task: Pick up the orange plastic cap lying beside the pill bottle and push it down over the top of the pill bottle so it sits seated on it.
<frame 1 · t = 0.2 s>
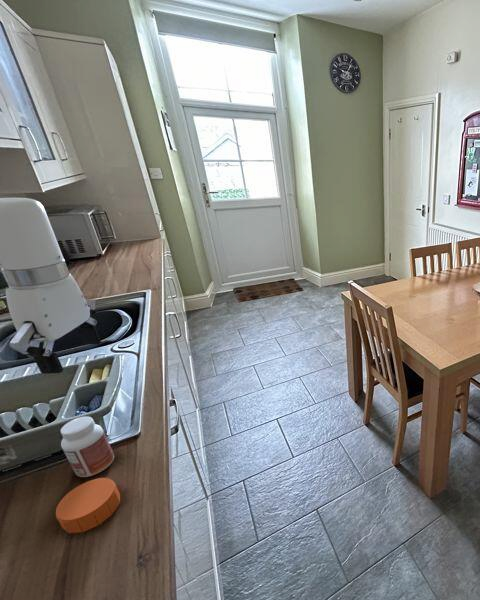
hand: (73, 357, 63), 23 cm above the counter, tool pointing down, fingers open, 9 cm apart
cap: (92, 510, 60), on the counter
pill bottle: (96, 465, 68), on the counter
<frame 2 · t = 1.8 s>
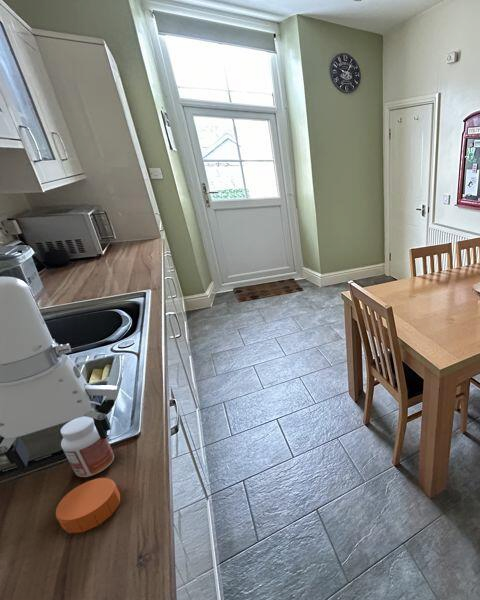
hand: (66, 447, 54), 15 cm above the counter, tool pointing down, fingers open, 9 cm apart
nothing on the counter moved.
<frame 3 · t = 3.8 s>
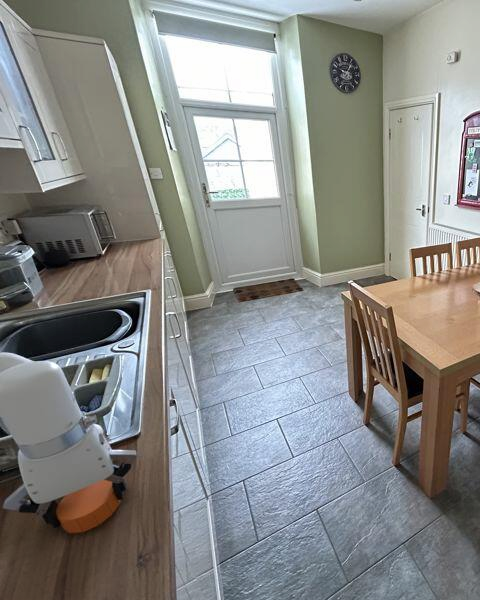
hand: (91, 506, 59), 1 cm above the counter, tool pointing down, fingers closed on cap, 8 cm apart
cap: (93, 510, 60), on the counter, touching gripper
everything else where it was.
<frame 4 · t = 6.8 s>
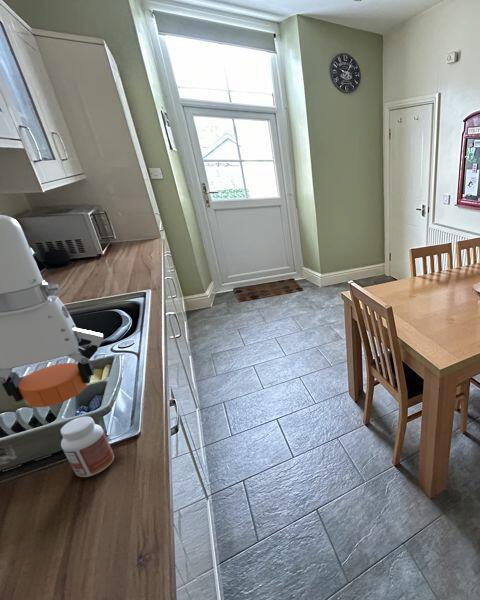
hand: (55, 387, 58), 21 cm above the counter, tool pointing down, fingers closed on cap, 8 cm apart
cap: (58, 391, 58), point 20 cm above the counter, touching gripper
everything else where it was.
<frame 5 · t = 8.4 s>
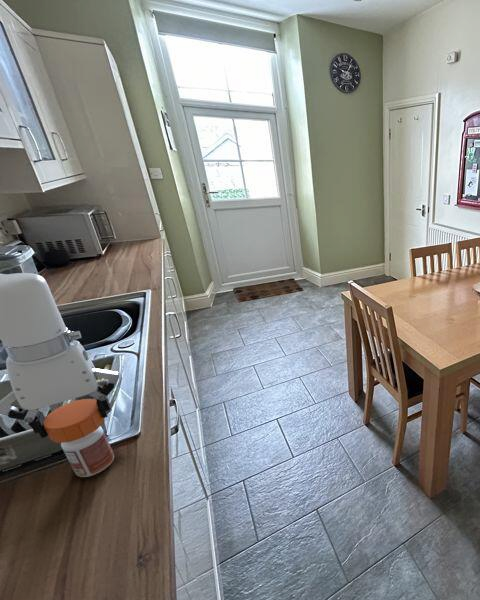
hand: (76, 422, 63), 12 cm above the counter, tool pointing down, fingers closed on cap, 8 cm apart
cap: (78, 426, 64), point 11 cm above the counter, touching gripper
everything else where it was.
when the fingers open (9 cm above the counter, at t = 9.8 s): cap stays where it is, resting on pill bottle.
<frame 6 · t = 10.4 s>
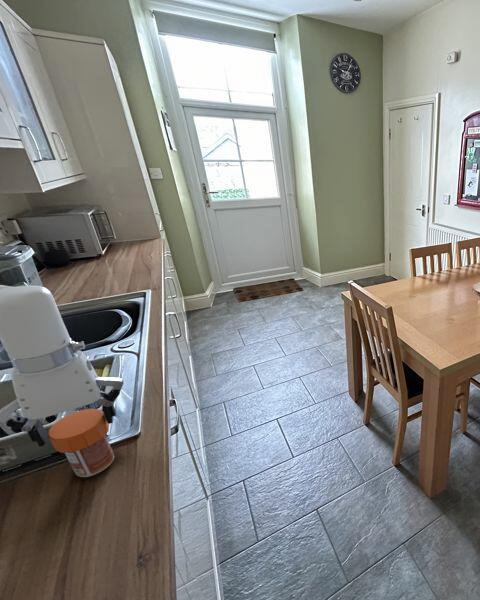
hand: (78, 429, 64), 10 cm above the counter, tool pointing down, fingers open, 9 cm apart
cap: (83, 436, 65), point 8 cm above the counter, touching pill bottle
pill bottle: (96, 465, 68), on the counter, touching cap
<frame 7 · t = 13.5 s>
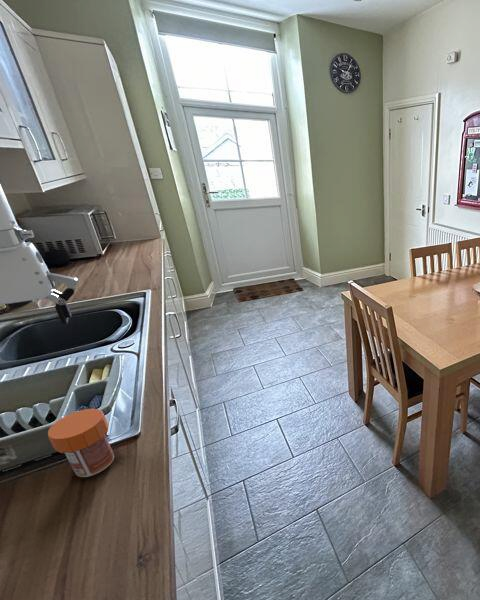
hand: (31, 327, 63), 28 cm above the counter, tool pointing down, fingers open, 9 cm apart
nothing on the counter moved.
at the end: cap 0.1 cm off-centre in the pill bottle, point 8.3 cm above the pill bottle's base; cap tilted 0° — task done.
